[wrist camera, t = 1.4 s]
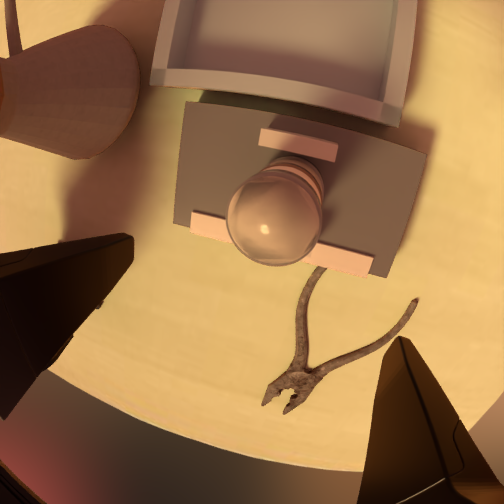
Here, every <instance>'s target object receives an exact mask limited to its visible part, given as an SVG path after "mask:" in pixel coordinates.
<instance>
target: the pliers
mask: <svg viewBox="0 0 504 504" xmlns="http://www.w3.org/2000/svg"><path fill="white" fill-rule="evenodd" d="M326 269H327V268H325V267H321V266H318V267H317V268H316V269H315V270H314V272H313V273H312V275H311V276H310V278H309V279H308V281H307V283H306V285H305V287H304V288H303V291H302V293H301V296H300V298H299V301H298V305H297V310H296V351H295V356H294V359H293V361H292V363H291V364H290V366H289V368H288V369H287V371H285V372H284V373H283V374H282V375H281V376H279V377H278V378H277V379H276V380H274V381H273V382H272V383H271V384H269V385H268V388H267V390H266V393H265V396H264V399H263V401H262V404H261V406H264V405H266V404H267V403H269V402H270V401H271V399H272V398H273V397H276V396H279V395H280V394H281V390H280V389H283V388H284V389H289V388H292V389H294V392H295V393H297V395H291V397H290V403H288V404H287V405H286V407H285V409H284V411H283V415H285V414H287V413H288V412H290V411H291V410H293V409H294V408H296V407H297V406H299V405H300V404H302V403H303V402H304V401H305V400H306V398H307V397H308V396H309V394H310V393H311V391H312V390H313V388H314V386H315V385H316V384H318V383H319V382H320V381H321V380H322V379H323V377H324V376H325V375H326V374H328V373H329V372H331V371H333V370H334V369H336V368H338V367H341V366H343V365H345V364H347V363H350V362H352V361H354V360H357V359H359V358H361V357H363V356H366V355H368V354H370V353H372V352H374V351H376V350H377V349H379V348H381V347H382V346H383V345H385V344H386V343H388V342H389V341H390V340H391V339H392V338H393V337H394V336H395V335H396V334H397V333H398V332H399V331H400V330H401V329H402V328H403V327H404V325H405V324H406V323H407V321H408V320H409V319H410V317H411V315H412V314H413V312H414V310H415V308H416V306H417V300H416V299H414V300H412V301H411V303H410V305H409V306H408V308H407V310H406V312H405V313H404V315H403V316H402V318H401V319H400V320H399V322H398V323H397V324H396V325H395V326H394V327H393V328H392V329H391V330H390V331H389V332H388V333H387V334H385V335H384V336H383V337H382V338H380V339H379V340H377V341H376V342H374V343H372V344H370V345H368V346H366V347H363V348H361V349H359V350H356V351H354V352H351V353H348V354H346V355H343V356H340V357H337V358H335V359H332V360H330V361H328V362H326V363H324V364H322V365H320V366H318V367H316V368H314V369H313V370H311V371H309V370H306V369H304V368H305V364H306V359H307V351H308V347H307V335H306V307H307V302H308V299H309V297H310V294H311V292H312V290H313V288H314V286H315V284H316V282H317V281H318V279H319V278H320V276H321V275H322V274H323V273H324V271H325V270H326Z"/></svg>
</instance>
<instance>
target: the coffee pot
mask: <svg viewBox="0 0 504 504" xmlns="http://www.w3.org/2000/svg"><path fill="white" fill-rule="evenodd" d="M4 2H5V19H6V30H7V40H8V48H9V55H10V57H9V58H7V59H5V58H1V57H0V137H2V138H6V139H9V140H12V141H16V142H19V143H22V144H26V145H29V146H32V147H35V148H39V149H42V150H45V151H48V152H51V153H55V154H58V155H61V156H64V157H67V158H71V159H74V160H77V159H89V158H91V157H93V156H95V155H97V154H100V153H102V152H103V151H104V150H106V149H107V148H108V147H109V146H110V145H111V144H112V143H113V142H115V141H116V140H117V138H118V137H119V136H120V135H121V133H122V132H123V130H124V129H125V128H126V126H127V125H128V123H129V121H130V119H131V117H132V114H133V112H134V110H135V108H136V104H137V99H138V95H139V90H140V69H139V65H138V60H137V56H136V54H135V52H134V50H133V49H132V47H131V45H130V43H129V42H128V40H127V39H126V38H125V37H124V36H123V35H122V34H121V33H120V32H118V31H117V30H116V29H114V28H111V27H108V26H105V25H93V26H86V27H82V28H79V29H76V30H73V31H70V32H68V33H65V34H62V35H59V36H57V37H54V38H51V39H49V40H46V41H44V42H41V43H39V44H37V45H34V46H32V47H30V48H28V49H25V50H22V45H21V39H20V33H19V26H18V19H17V11H16V2H15V0H4Z"/></svg>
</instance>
